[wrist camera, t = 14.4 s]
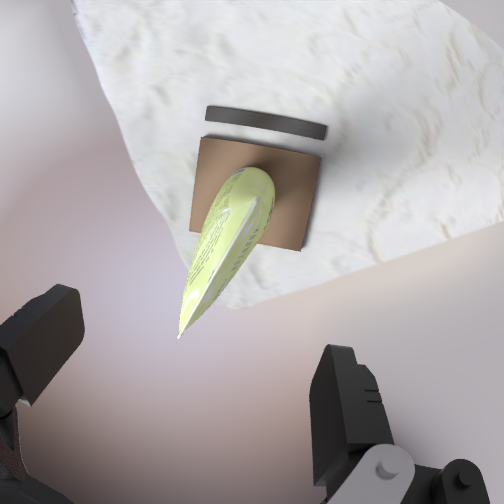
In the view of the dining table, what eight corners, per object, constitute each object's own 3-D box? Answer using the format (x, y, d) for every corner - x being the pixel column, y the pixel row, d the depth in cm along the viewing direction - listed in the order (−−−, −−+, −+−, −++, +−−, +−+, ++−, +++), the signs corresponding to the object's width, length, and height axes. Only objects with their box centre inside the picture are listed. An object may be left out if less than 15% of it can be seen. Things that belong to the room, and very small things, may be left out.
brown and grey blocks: (325, 126, 28) (327, 126, 27) (300, 249, 33) (300, 251, 32) (207, 106, 28) (205, 105, 27) (191, 228, 33) (189, 231, 32)
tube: (281, 216, 31) (285, 330, 13) (232, 225, 32) (175, 341, 14) (270, 161, 29) (259, 199, 11) (220, 171, 30) (134, 225, 12)
